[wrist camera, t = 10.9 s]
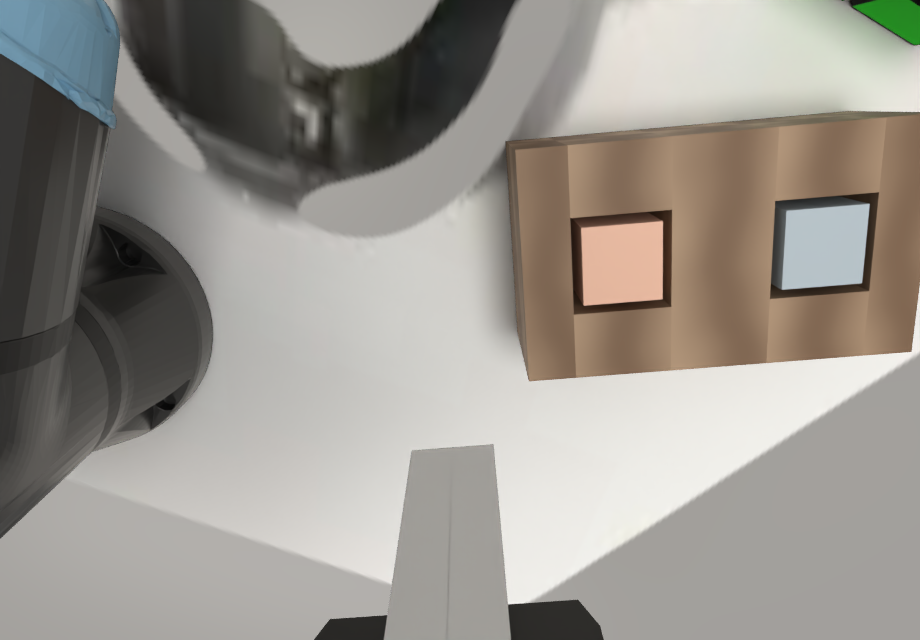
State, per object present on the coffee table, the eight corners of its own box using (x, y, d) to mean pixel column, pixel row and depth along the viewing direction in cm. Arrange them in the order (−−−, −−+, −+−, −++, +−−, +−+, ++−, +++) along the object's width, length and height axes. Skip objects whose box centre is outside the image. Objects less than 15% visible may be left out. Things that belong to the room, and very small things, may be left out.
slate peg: (726, 258, 41) (781, 289, 34) (729, 192, 40) (786, 210, 33) (792, 252, 41) (862, 283, 34) (797, 186, 40) (869, 203, 33)
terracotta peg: (563, 271, 42) (583, 305, 35) (560, 206, 40) (581, 228, 33) (628, 265, 42) (662, 299, 34) (627, 200, 40) (662, 221, 33)
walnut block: (517, 333, 44) (528, 381, 36) (505, 141, 40) (515, 149, 32) (831, 308, 43) (911, 351, 35) (848, 111, 39) (940, 112, 32)
